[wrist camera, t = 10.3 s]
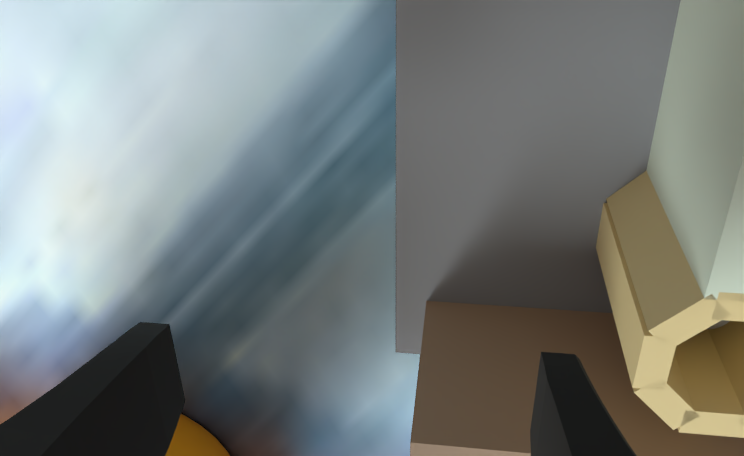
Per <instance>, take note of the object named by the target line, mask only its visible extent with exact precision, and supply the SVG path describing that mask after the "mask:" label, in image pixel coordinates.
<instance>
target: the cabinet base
mask: <svg viewBox="0 0 744 456" xmlns="http://www.w3.org/2000/svg"><path fill="white" fill-rule="evenodd" d="M680 1H681V0H396V352H400V353H413V354H420V362H419V371H418V380H417V389H416V398H415V407H414V415H413V424H412V433H411V442H410V456H531V442H530V429H531V421H532V414H533V407H534V399H535V392H536V385H537V377H538V370H539V363H540V356H541V352H552V353H565V354H575V355H576V356H577V357H578V358H579V359H580V361H581V363H582V365H583V367H584V369H585V371H586V373H587V375H588V377H589V379H590V381H591V383H592V384H593V386H594V388H595V390H596V392H597V394H598V395H599V397H600V399H601V400H602V402H603V404H604V406H605V407H606V409H607V411H608V412H609V414H610V416H611V417H612V419H613V421H614V422H615V424H616V425H617V427H618V428H619V430H620V431H621V433H622V434H623V436H624V438H625V439H626V441H627V442H628V444H629V445H630V447H631V448H632V450H633V451H634V453H635V454H636V456H744V438H739V437H727V436H716V435H704V434H692V433H680V432H679V431H678V428H677V429H675V430H673V429H672V428H671V427H669V426H668V425H667V424H666V423H665V422H664V421H663V420H662V419H661V418H660V417H659V416H658V415H657V414H656V413H655V412H654V411H653V410H652V409H651V408H650V407H649V406H647V405H646V404H645V403H644V402H643V401H642V400H641V399H640V398H639V397H638V396H637V395H636V394H635V393H634V391H633V388H632V385H631V381H630V377H629V373H628V369H627V365H626V362H625V358H624V354H623V350H622V346H621V342H620V338H619V335H618V331H617V327H616V323H615V319H614V315H613V311H612V308H611V304H610V300H609V296H608V292H607V288H606V285H605V281H604V277H603V273H602V269H601V265H600V261H599V258H598V254H597V250H596V243H597V237H598V231H599V226H600V220H601V214H602V208H603V203H607V200H606V199H607V198H608V197H610V196H611V195H612V194H614V193H615V192H617V191H618V190H619V189H621V188H622V187H624V186H625V185H627V184H628V183H629V182H631V181H632V180H634V179H635V178H637V177H638V176H639V175H641V174H642V173H644V172H645V171H646V170H647V165H648V160H649V155H650V150H651V145H652V140H653V135H654V130H655V125H656V120H657V115H658V110H659V105H660V100H661V95H662V90H663V85H664V81H665V76H666V71H667V66H668V61H669V56H670V51H671V46H672V41H673V36H674V31H675V26H676V21H677V16H678V11H679V6H680ZM728 322H729V321H727V320H721V321H719V322H718V323H716V324H714V325H712V326H711V327H709V328H707V329H715V328H719V327H721V326H723V325H725V324H727V323H728Z"/></svg>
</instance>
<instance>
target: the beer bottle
mask: <svg viewBox="0 0 744 456" xmlns="http://www.w3.org/2000/svg"><path fill="white" fill-rule="evenodd" d="M165 456H230V455H229V453H228V452H227V450H226V449H225V448H224V447H223V446H222V445H221V443H220V442H219V441H218V440H217V439H216V438H215V437H214V436H213V435H212V434H211V433H209V432H208V431H207V430H206V429H205V428H203V427H202V426H201V425H199V424H198V423H196V422H194V421H193V420H191V419H190V418H188V417H187V416H185V415H183V414H181V415H180V418H179V421H178V424H177V427H176V430H175V432H174V435H173V438H172V440H171V443H170V446H169V448H168V450H167V453H166V455H165Z"/></svg>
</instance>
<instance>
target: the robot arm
mask: <svg viewBox="0 0 744 456" xmlns="http://www.w3.org/2000/svg"><path fill="white" fill-rule="evenodd" d="M184 403H185V398H184V393H183V388H182V384H181V379H180V374H179V369H178V364H177V359H176V354H175V349H174V344H173V340H172V335H171V330H170V325H169V324H158V323H144V322H140V323H138V324H137V325H136V326H134V327H133V328H131V329H130V330H129V331H127V332H126V333H125V334H123V335H122V336H121V337H120V338H118V339H117V340H116V341H114V342H113V343H112V344H110V345H109V346H108V347H107V348H105V349H104V350H103V351H101V352H100V353H99V354H98V355H96V356H95V357H94V358H92V359H91V360H90V361H89V362H87V363H86V364H85V365H83V366H82V367H81V368H79V369H78V370H77V371H75V372H74V373H73V374H71V375H70V376H69V377H67V378H66V379H65V380H64V381H62V382H61V383H60V384H58V385H57V386H56V387H54V388H53V389H51V390H50V391H48V392H47V393H46V394H44V395H43V396H41V397H40V398H38V399H37V400H36V401H34V402H33V403H31V404H30V405H28V406H27V407H25V408H24V409H23V410H21V411H20V412H18V413H17V414H15V415H14V416H13V417H11V418H10V419H8V420H7V421H5V422H4V423H2V424H0V456H165V455H166V453H167V450H168V448H169V446H170V443H171V440H172V438H173V435H174V432H175V430H176V427H177V424H178V421H179V418H180V415H181V412H182V409H183V406H184ZM530 442H531V456H636V454H635V453H634V451H633V450H632V448H631V447H630V445H629V444H628V442H627V441H626V439H625V438H624V436H623V434H622V433H621V431H620V430H619V428H618V427H617V425H616V424H615V422H614V421H613V419H612V417H611V416H610V414H609V412H608V411H607V409H606V407H605V406H604V404H603V402H602V400H601V399H600V397H599V395H598V394H597V392H596V390H595V388H594V386H593V384H592V383H591V381H590V379H589V377H588V375H587V373H586V371H585V369H584V367H583V365H582V363H581V361H580V359H579V358H578V357H577V356H576V355H575V354H565V353H552V352H541V356H540V363H539V370H538V377H537V385H536V392H535V399H534V407H533V414H532V421H531V429H530Z"/></svg>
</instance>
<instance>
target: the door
mask: <svg viewBox="0 0 744 456" xmlns="http://www.w3.org/2000/svg"><path fill="white" fill-rule="evenodd" d="M606 200H607V203H603V208H602V214H601V220H600V226H599V231H598V237H597V243H596V250H597V254H598V258H599V261H600V265H601V269H602V273H603V277H604V281H605V285H606V288H607V292H608V296H609V300H610V304H611V308H612V311H613V315H614V319H615V323H616V327H617V331H618V335H619V338H620V342H621V346H622V350H623V354H624V358H625V362H626V365H627V369H628V373H629V377H630V381H631V385H632V388H633V391H634V393H635V394H636V395H637V396H638V397H639V398H640V399H641V400H642V401H643V402H644V403H645V404H646V405H647V406H649V407H650V408H651V409H652V410H653V411H654V412H655V413H656V414H657V415H658V416H659V417H660V418H661V419H662V420H663V421H664V422H665V423H666V424H667V425H668V426H669V427H671V428H672V429H673V430H675V429H677V428H678V431H679V432H680V433H692V434H704V435H716V436H727V437H739V438H744V0H681V1H680V6H679V11H678V16H677V21H676V26H675V31H674V36H673V41H672V46H671V51H670V56H669V61H668V66H667V71H666V76H665V81H664V85H663V90H662V95H661V100H660V105H659V110H658V115H657V120H656V125H655V130H654V135H653V140H652V145H651V150H650V155H649V160H648V165H647V170H646V171H645V172H644V173H642V174H641V175H639V176H638V177H637V178H635V179H634V180H632V181H631V182H629V183H628V184H627V185H625V186H624V187H622V188H621V189H619V190H618V191H617V192H615V193H614V194H612V195H611V196H610V197H608V198H607V199H606ZM721 320H727V321H729V322H728V323H727V324H725V325H723V326H721V327H719V328H715V329H707V328H709V327H711V326H712V325H714V324H716V323H718V322H719V321H721Z"/></svg>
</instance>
